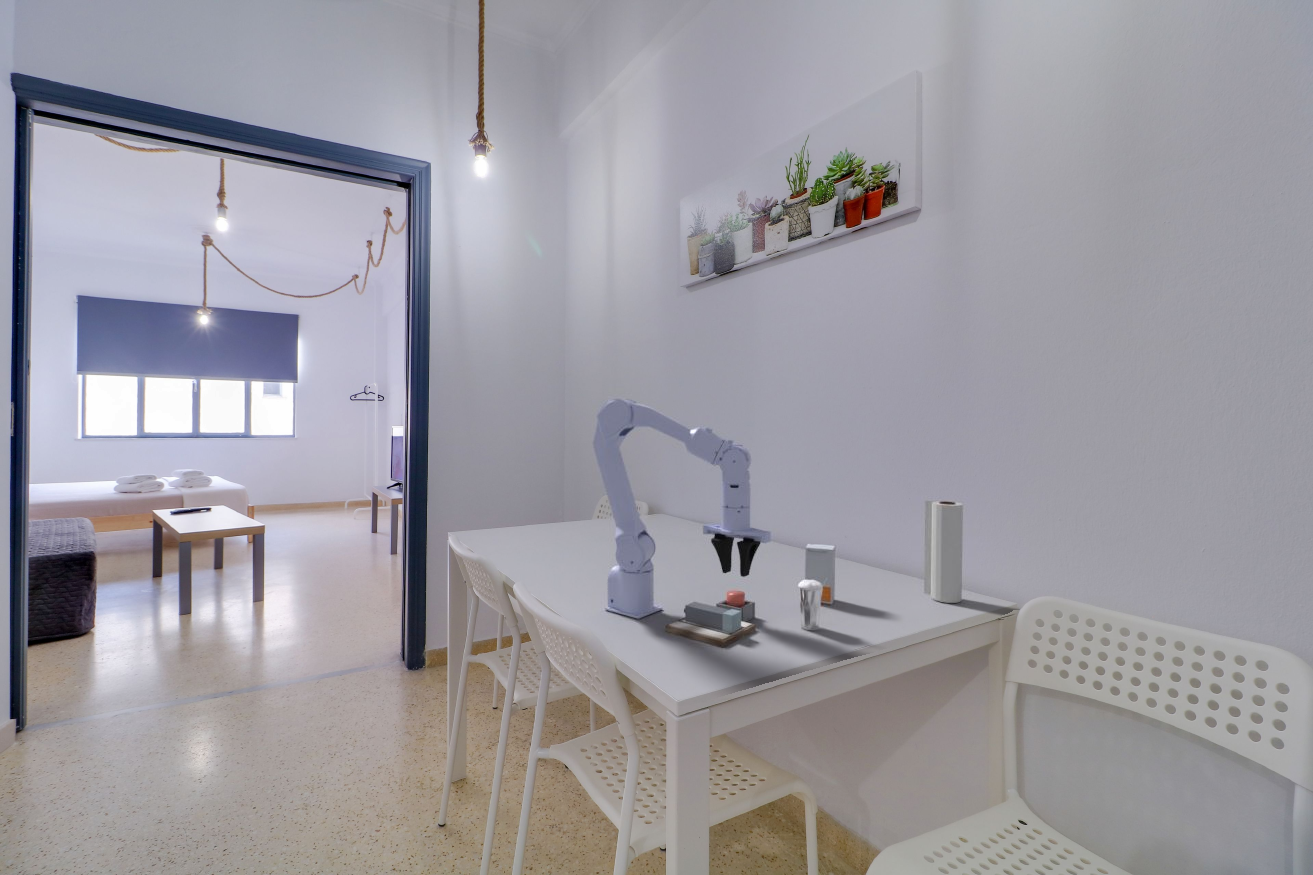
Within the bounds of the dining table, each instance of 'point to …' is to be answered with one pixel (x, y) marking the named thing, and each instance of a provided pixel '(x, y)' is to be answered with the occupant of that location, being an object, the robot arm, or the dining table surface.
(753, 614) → the button housing
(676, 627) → the brown flat wooden board
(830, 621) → the dining table surface
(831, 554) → the skincare box
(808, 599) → the milkshake
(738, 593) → the button
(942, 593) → the paper towel roll
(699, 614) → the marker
